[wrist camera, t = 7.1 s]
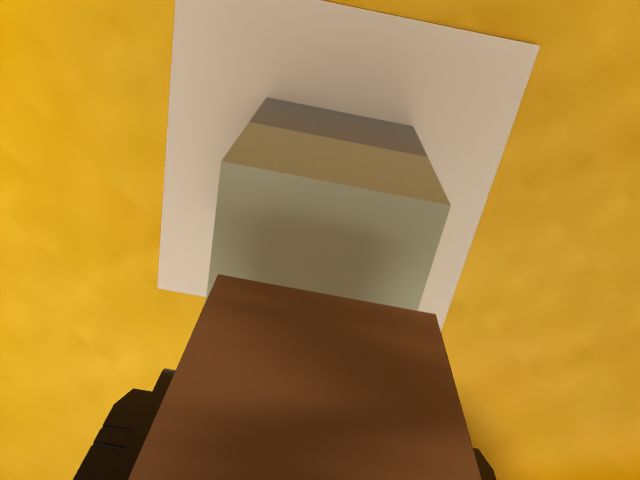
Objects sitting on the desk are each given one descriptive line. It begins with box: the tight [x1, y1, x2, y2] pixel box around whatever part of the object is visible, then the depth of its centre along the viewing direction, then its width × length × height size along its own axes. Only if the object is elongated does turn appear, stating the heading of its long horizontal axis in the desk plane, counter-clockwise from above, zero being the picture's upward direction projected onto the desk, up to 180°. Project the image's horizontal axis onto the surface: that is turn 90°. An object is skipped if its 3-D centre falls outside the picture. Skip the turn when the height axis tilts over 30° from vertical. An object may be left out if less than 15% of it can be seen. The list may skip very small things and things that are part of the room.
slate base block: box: [249, 97, 428, 157], centre depth 24 cm, size 7×7×5 cm
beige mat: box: [157, 0, 540, 331], centre depth 27 cm, size 16×16×1 cm
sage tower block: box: [206, 122, 451, 311], centre depth 20 cm, size 7×7×5 cm
